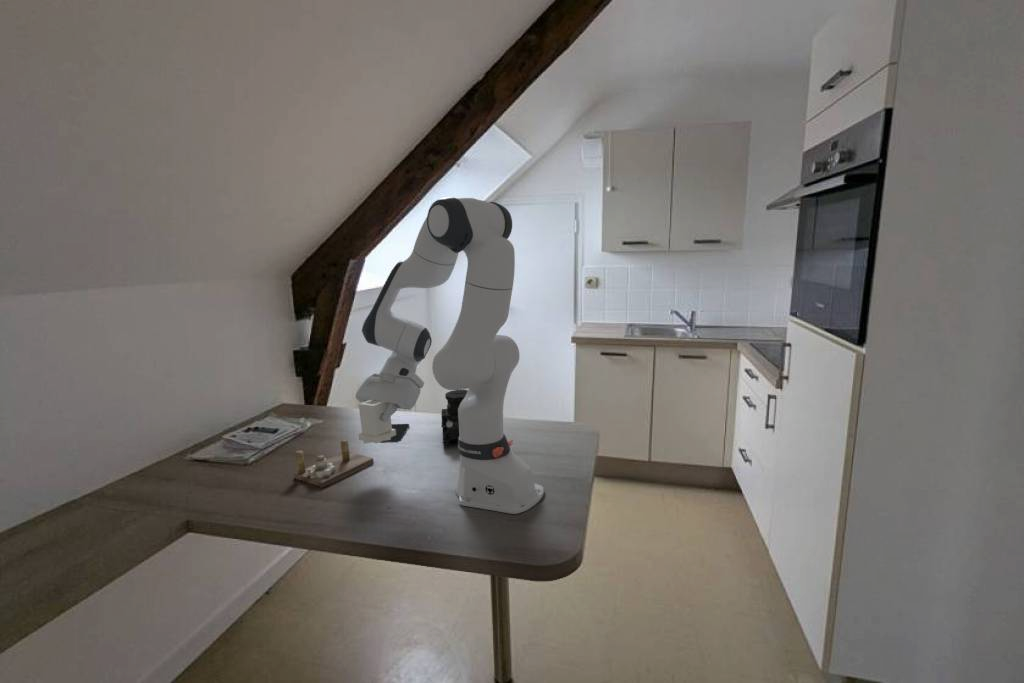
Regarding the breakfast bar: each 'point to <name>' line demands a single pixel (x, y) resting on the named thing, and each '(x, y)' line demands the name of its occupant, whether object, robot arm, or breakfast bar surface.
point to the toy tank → (451, 415)
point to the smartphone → (398, 432)
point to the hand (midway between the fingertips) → (373, 419)
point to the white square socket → (374, 422)
